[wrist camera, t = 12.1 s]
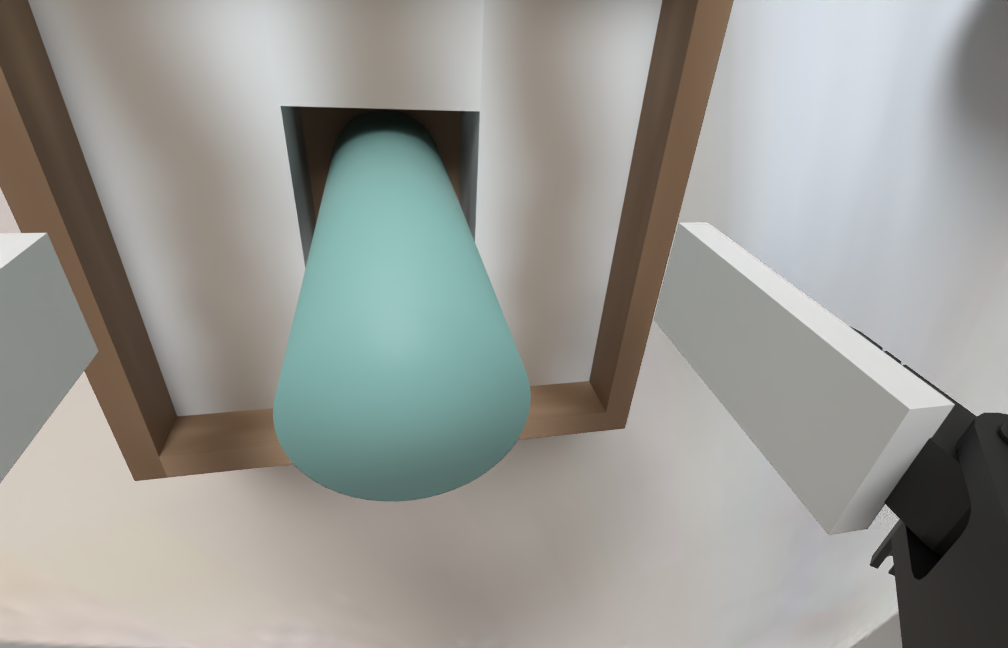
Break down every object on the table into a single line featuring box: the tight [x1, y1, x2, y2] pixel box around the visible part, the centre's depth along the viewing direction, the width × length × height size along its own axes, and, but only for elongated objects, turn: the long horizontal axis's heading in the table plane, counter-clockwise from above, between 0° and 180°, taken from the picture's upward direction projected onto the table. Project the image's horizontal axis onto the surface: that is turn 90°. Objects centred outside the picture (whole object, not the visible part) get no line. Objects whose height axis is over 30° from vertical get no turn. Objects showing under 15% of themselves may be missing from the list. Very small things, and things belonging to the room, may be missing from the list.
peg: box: [273, 110, 531, 501], centre depth 14 cm, size 4×4×14 cm
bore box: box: [0, 0, 734, 481], centre depth 18 cm, size 18×18×7 cm
